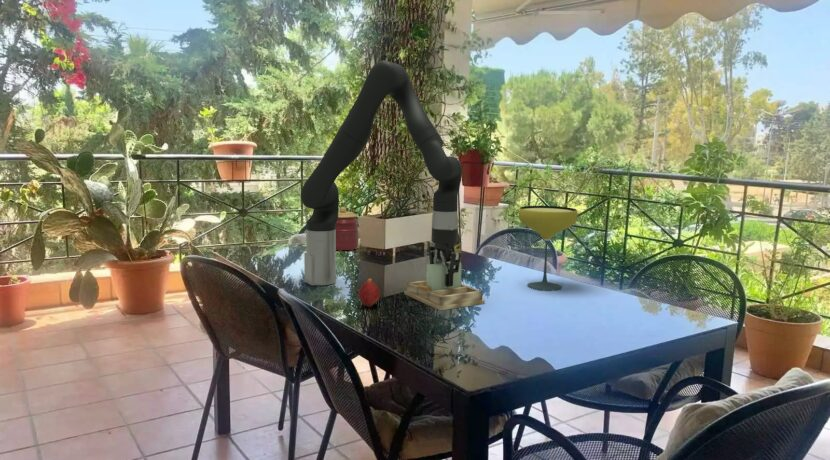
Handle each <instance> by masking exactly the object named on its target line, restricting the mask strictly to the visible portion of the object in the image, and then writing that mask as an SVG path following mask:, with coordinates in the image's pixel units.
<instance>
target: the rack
mask: <svg viewBox="0 0 830 460" xmlns="http://www.w3.org/2000/svg"><path fill="white" fill-rule="evenodd" d="M403 292H404V293H403V294H404V295H405V296H408V297H409V298H412V299H414V300H417V301H419V302H421V303H423V304H425V305H427V306H430V307H432V308H433V309H436V310H438V311H445V310H451V309H453V310H454V309H458V308H465V307H471V306H478V305H484V304H486V303H485V299H483V291H482V290H480V289H477V288H474V287H471V286H468V285H466V284H463V283H461V287H459V288H451V289H444V290H436V291H430V288H429V287H426V280H419V281H412V282H411V281H410V282H406V290H404V291H403Z"/></svg>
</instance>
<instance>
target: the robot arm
mask: <svg viewBox="0 0 830 460" xmlns="http://www.w3.org/2000/svg"><path fill="white" fill-rule="evenodd" d="M387 96H390V97H391V98H392V99H393V101H395V103H396V104H397V106H398V107H399V109H400V111H401V112H402V114H403V118H404V121H405V124H406V127H407V130H408V132H409V134H410V137H411V139H412V140H413V142H414V143H415V145H416V146H417V148H418V150H419V151H420V152H421V154H422V158H423V160H424V163H425V166H426V169H427V171H428V172H429V174H430V175H431V177H432V178H433V179H434V180H435V181H437V182H438V187H437V190H435V191H434V193H433V195H432V196H433V197H432V216H431V242H432V243H433V244H434V245H430V246H428V254H429V255H428V256H429V264H438V263H443V266H444V267H445V271H446V274H445V286H447V287H451V286H453V274H454V273H457V272H458V271H459V265H460V258H461V259H462V252H461V253H457V252H455V249H454V244H455V243H457V242H458V233H459V223H458V219H459V215H458V214H459V213H458V209H459V208H458V205H459V204H458V202H459V201H458V199H459V198H458V196H459V191H460V188H461V187H460V186H461V182H462V177H463V169H462V164H461V161H460V160H459V159H458V158H456V157H455V156H450V155H449V156H448V155H447V154H446V152H445V151H444V148H443V145H444V141H443V139H442V137H441V135H440V134H439V132H438V130H437V129H436V127H435V126H434V124H433V123H432V121H431V120H430V118H429V117H428V115H427V113H426V111H425V110H424V108H423V105H422V104H421V102H420V100H419V98H418V96H417V94H416V91H415V88H414V86H413V85H412V82H411V80H410V77H409V74H408V73H407V70H406V69H405V68H404V66H402V65H400V64H398V63H395V62H392V61H388V60H380V61H378V62H376V63H375V64H374V65H373V66H372V67H371V68H370V70H369V72H368V74H367V76H366V78H365V81H364V83H363V85H362V87H361V90H360V92H359V94H358V95H357V98H356V99H355V101H354V103H353V105H352V106H351V108H350V110H349V111H348V114H347V115H346V117H345V119H344V120H343V122H341V125H340V127H339V128H338V129H337V132H336V134H335V135H334V137H333V139H332V140H331V143H330V145H329V146H328V148H327V149H326V151H325V152H324V155H323V156H322V158H321V159H320V161H319V163H318V164H317V166H316V168H314V170H313V171H312V173H310V176H308V178H307V179H306V181H305V182H304V183H303V186H302V188H301V191H300V200H301V203H302V204H303V206H305V207H306V208H308V209H312V210H313V211H312V213H311V216H310V217H309V218H308V219H307V220H306V223H305V226H306V227H305V229H306V231H305V233H306V242H305V243H306V252H304V255H303V256H304V259H303V262H304V282H305V283H306V284H308V285H310V286H329V285H333V284H335V283H336V282H337V260H336V259H337V254H336V252H337V251H336V223H337V220H338V211H340V209H339V208H340V207H339V206H340V205H339V203H340V196H339V195H340V194H339V188H338V186H337V184H336V182H335V181H336V180H337V178H338V177H339V175H340V174H342V173H343V172H344V170H346V169H347V168H348V167H349V166H350V165H351V164H352V163H353V162H354V161H356V159H357V158H358V157H359V156H360V155H361V153H362V152H363V151H364V148H365V147H366V145H367V144H368V142H369V140H370V138H371V136H372V132H373V127H374V123H375V122H374V121H375V117H376V114H377V111H378V109H379V107H380V106H381V105H382V103H383V101H384V99H386V98H387ZM447 262H450V263H447ZM454 265H456V266H455V268H454ZM448 266H450V268H448Z"/></svg>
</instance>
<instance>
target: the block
mask: <svg viewBox="0 0 830 460" xmlns="http://www.w3.org/2000/svg"><path fill="white" fill-rule="evenodd" d="M448 263H450V262H448ZM455 266H456V265H454V268H455ZM448 268H450V266H448ZM445 274H446V271H445V267H444V266H443V263H438V264H430V263H429V264H426V279H425V281H426V287H429V288H430V291H436V290H444V289H451V288H459V287H461V284H462V262H461V263H460V265H459V271H458V272H457V273H454V274H453V286H451V287H447V286H445Z"/></svg>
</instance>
